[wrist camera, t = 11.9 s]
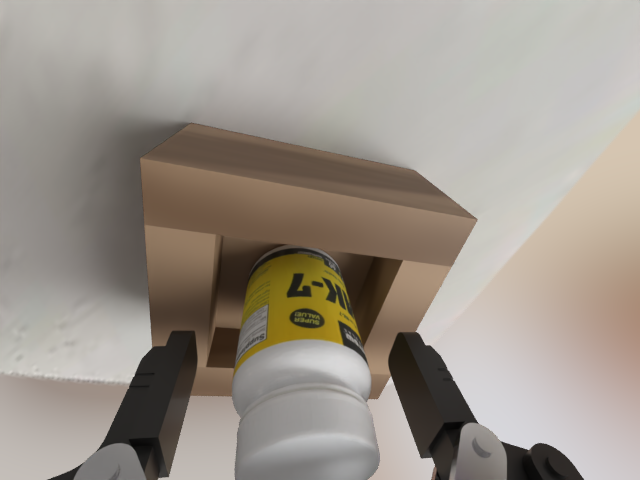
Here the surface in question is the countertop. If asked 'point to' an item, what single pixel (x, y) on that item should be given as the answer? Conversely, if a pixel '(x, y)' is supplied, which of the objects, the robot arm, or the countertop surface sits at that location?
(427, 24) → the countertop surface
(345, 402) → the supplement bottle
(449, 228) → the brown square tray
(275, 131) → the countertop surface
